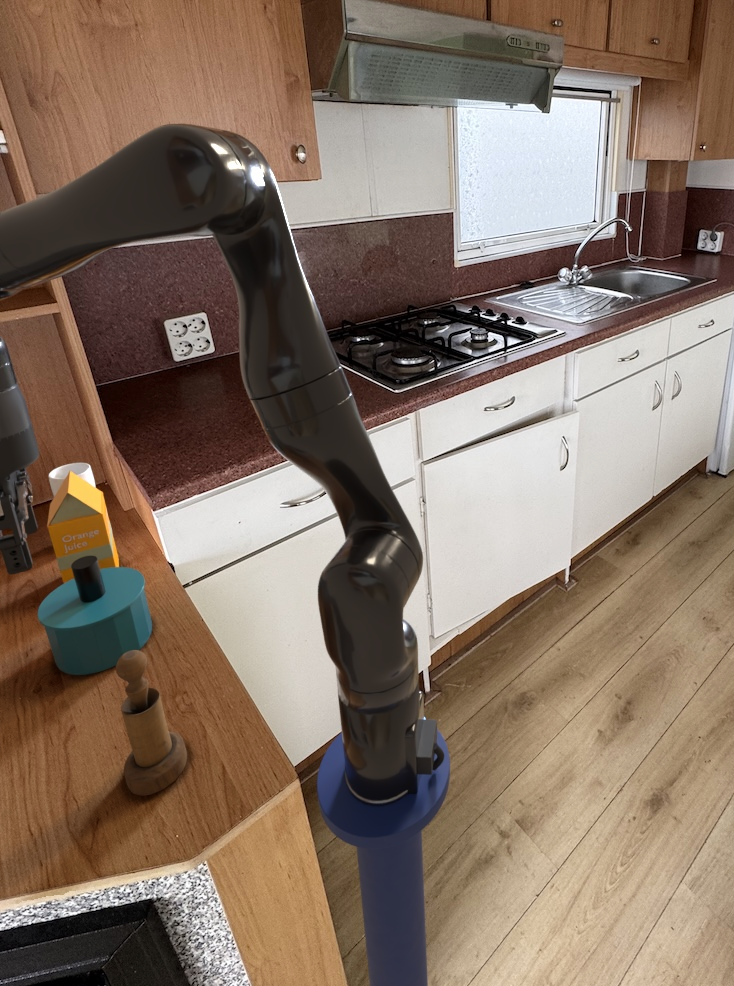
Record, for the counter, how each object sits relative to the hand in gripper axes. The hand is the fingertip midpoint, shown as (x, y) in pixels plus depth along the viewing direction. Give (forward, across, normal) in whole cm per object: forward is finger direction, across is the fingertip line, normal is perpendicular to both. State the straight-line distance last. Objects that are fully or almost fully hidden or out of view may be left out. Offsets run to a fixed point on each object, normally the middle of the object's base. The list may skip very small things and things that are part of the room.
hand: (24, 551), depth 69 cm
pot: (+27, +13, -4) cm, 30 cm away
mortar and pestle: (+27, -14, -9) cm, 31 cm away
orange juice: (+27, +32, -2) cm, 42 cm away
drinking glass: (+27, +48, -1) cm, 55 cm away
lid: (+18, +13, -4) cm, 23 cm away
